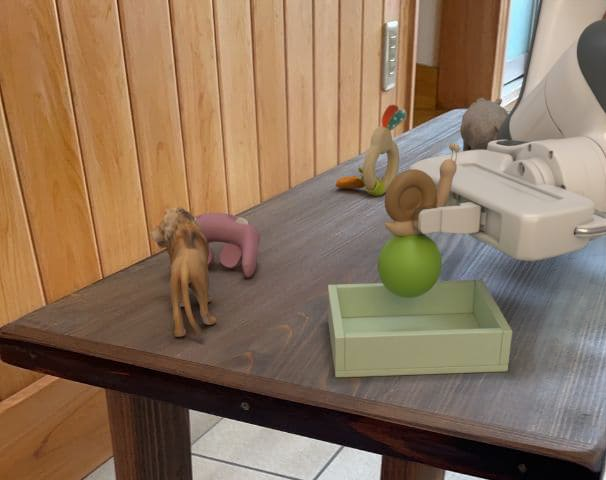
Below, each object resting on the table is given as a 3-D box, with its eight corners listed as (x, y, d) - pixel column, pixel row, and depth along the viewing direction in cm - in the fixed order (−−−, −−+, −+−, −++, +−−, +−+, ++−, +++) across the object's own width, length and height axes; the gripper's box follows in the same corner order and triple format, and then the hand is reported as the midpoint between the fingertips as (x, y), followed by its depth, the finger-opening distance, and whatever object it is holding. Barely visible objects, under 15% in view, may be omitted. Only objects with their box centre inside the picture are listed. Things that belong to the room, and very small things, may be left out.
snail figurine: (460, 300, 73) (475, 150, 66) (393, 310, 72) (401, 158, 64) (430, 280, 78) (441, 137, 70) (366, 290, 76) (371, 144, 69)
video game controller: (261, 282, 96) (264, 217, 95) (252, 276, 91) (255, 208, 90) (177, 279, 97) (179, 215, 96) (164, 273, 93) (166, 206, 92)
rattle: (373, 181, 125) (375, 94, 119) (408, 192, 120) (412, 102, 113) (331, 189, 122) (331, 100, 115) (365, 201, 117) (367, 108, 110)
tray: (479, 315, 82) (482, 279, 80) (507, 371, 72) (512, 331, 70) (328, 321, 82) (327, 284, 80) (335, 377, 72) (335, 337, 70)
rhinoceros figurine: (449, 162, 122) (469, 58, 122) (448, 200, 136) (466, 106, 136) (503, 169, 121) (524, 64, 121) (497, 206, 135) (516, 112, 134)
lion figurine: (156, 293, 89) (145, 204, 84) (206, 288, 90) (198, 199, 85) (176, 347, 78) (164, 248, 73) (233, 340, 79) (226, 241, 74)
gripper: (620, 266, 68) (469, 293, 64) (486, 205, 84) (358, 224, 80) (636, 183, 64) (476, 206, 61) (492, 135, 80) (358, 152, 76)
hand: (408, 216), depth 70 cm, fingers closed on snail figurine
